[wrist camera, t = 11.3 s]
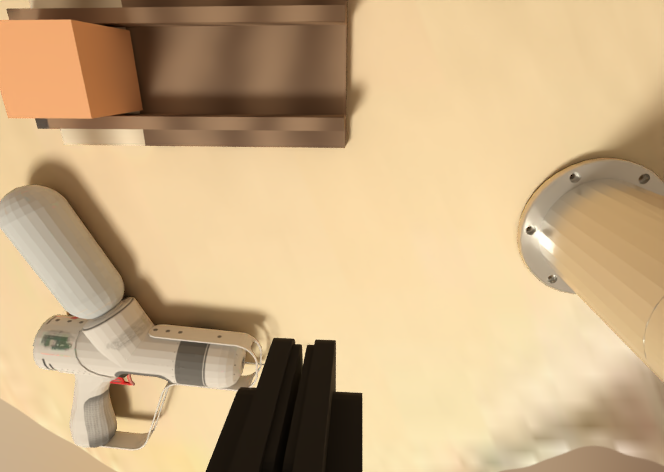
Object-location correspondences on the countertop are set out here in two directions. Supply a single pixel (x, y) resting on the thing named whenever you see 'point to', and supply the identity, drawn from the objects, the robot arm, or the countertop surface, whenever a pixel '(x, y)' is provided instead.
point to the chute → (219, 72)
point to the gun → (108, 323)
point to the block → (66, 70)
